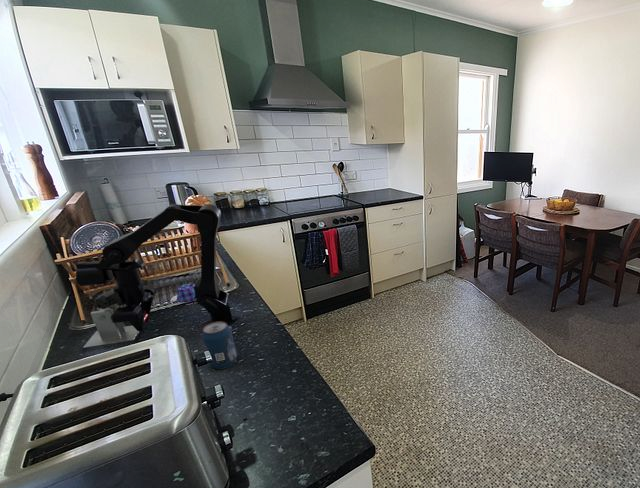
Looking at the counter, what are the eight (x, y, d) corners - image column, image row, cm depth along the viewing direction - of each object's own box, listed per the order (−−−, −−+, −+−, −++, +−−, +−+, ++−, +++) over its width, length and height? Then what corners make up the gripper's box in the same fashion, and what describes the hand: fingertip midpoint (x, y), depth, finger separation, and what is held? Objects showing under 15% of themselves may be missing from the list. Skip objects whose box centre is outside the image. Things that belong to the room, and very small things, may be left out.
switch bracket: (144, 327, 112) (133, 297, 108) (134, 342, 105) (122, 312, 100) (97, 333, 108) (84, 303, 104) (84, 350, 101) (69, 319, 96)
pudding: (204, 288, 137) (201, 276, 135) (212, 300, 129) (209, 287, 127) (168, 297, 130) (164, 285, 128) (174, 310, 122) (170, 297, 120)
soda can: (211, 357, 100) (201, 322, 95) (238, 352, 102) (230, 318, 97) (208, 373, 94) (198, 336, 89) (237, 367, 97) (228, 331, 92)
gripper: (107, 271, 107) (121, 314, 113) (78, 299, 91) (97, 348, 97) (151, 268, 111) (162, 310, 117) (130, 294, 95) (145, 341, 101)
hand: (142, 326), depth 108 cm, fingers closed on switch lever, 5 cm apart
